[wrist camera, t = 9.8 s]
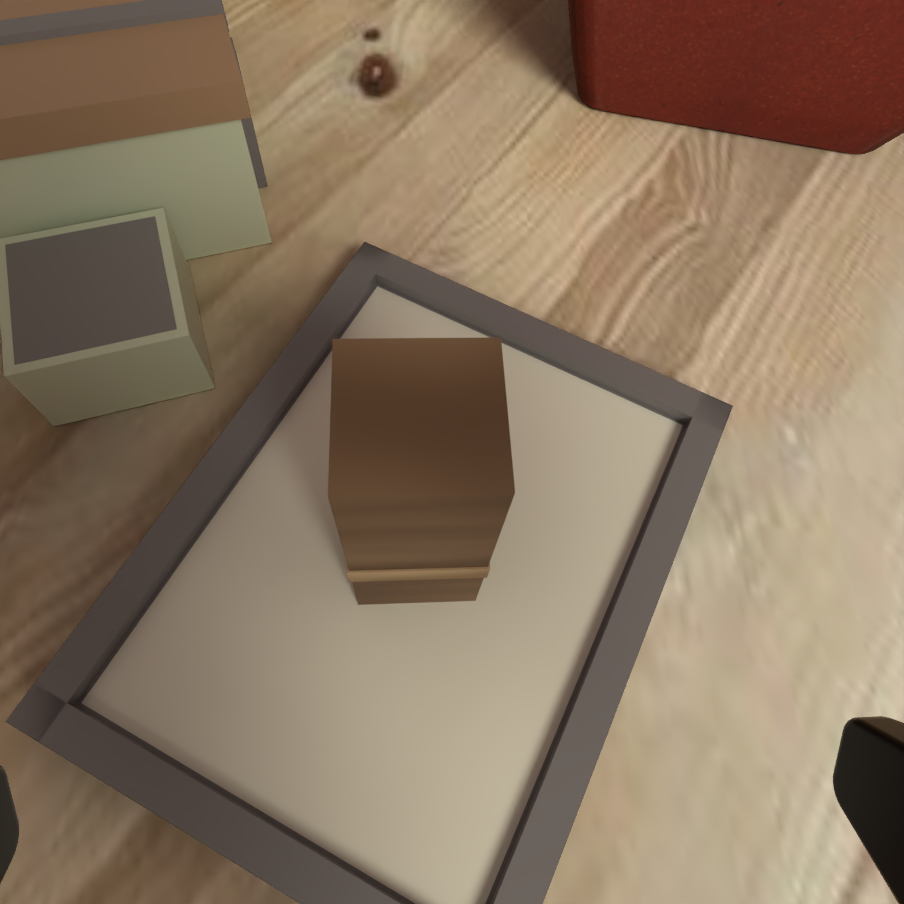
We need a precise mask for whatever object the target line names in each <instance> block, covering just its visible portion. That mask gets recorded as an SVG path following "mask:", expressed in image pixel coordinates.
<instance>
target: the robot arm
mask: <svg viewBox="0 0 904 904" xmlns="http://www.w3.org/2000/svg"><path fill="white" fill-rule="evenodd" d="M833 786H834V791H835V795H836V797H837V800H838V802H839V804H840V806H841V808H842V810H843V811H844V813H845V815H846V816H847V818H848V820H849V821H850V823H851V825H852V826H853V828H854V830H855V831H856V833H857V835H858V836H859V838H860V840H861V841H862V843H863V845H864V846H865V848H866V850H867V851H868V853H869V855H870V856H871V858H872V860H873V861H874V863H875V865H876V866H877V868H878V870H879V871H880V873H881V875H882V876H883V878H884V880H885V882H886V883H887V885H888V887H889V888H890V890H891V892H892V893H893V895H894V897H895V898H896V900H897V902H898V903H899V904H904V723H902V722H900V721H897V720H894V719H891V718H887V717H882V716H878V717H859V718H852V719H851V720H849V721H848V722H847V723H846V724H845V726H844V729H843V733H842V738H841V742H840V747H839V751H838V755H837V760H836V764H835V769H834V774H833ZM18 837H19V824H18V818H17V815H16V811H15V807H14V803H13V799H12V795H11V791H10V787H9V783H8V779H7V775H6V773H5V770H4V769H3V767H2V766H0V883H1V881H2V879H3V877H4V875H5V873H6V871H7V869H8V866H9V864H10V862H11V860H12V858H13V855H14V853H15V850H16V847H17V843H18Z"/></svg>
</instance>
